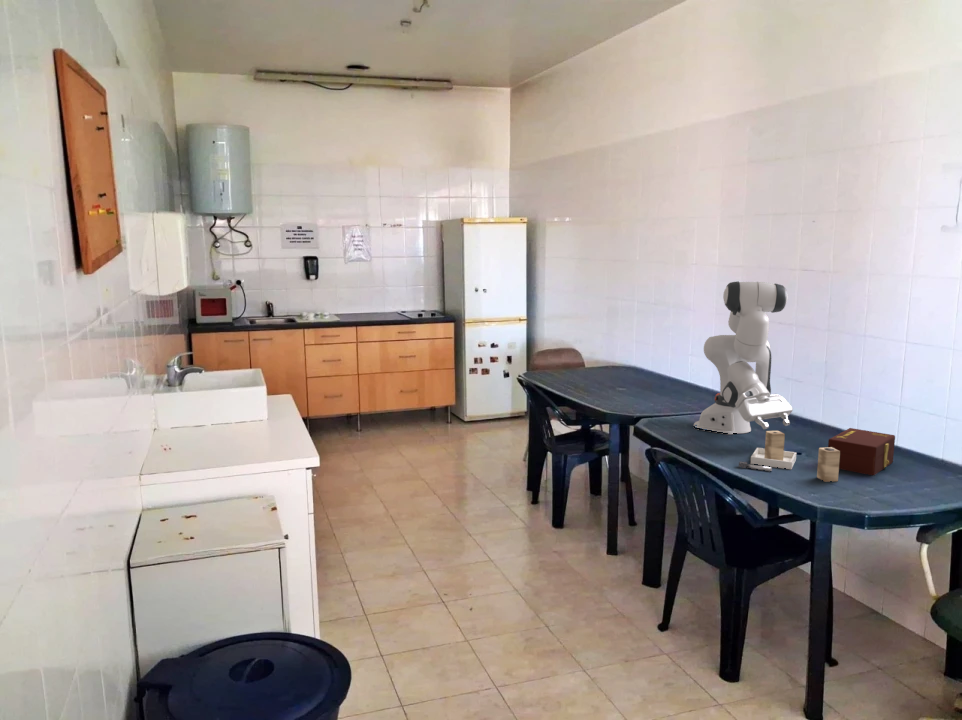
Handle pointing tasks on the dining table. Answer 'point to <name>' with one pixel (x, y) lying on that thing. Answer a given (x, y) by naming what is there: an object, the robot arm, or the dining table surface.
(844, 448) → the box
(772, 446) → the small-bore block
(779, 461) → the tray
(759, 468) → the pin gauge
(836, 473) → the large-bore block
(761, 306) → the robot arm
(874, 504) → the dining table surface
